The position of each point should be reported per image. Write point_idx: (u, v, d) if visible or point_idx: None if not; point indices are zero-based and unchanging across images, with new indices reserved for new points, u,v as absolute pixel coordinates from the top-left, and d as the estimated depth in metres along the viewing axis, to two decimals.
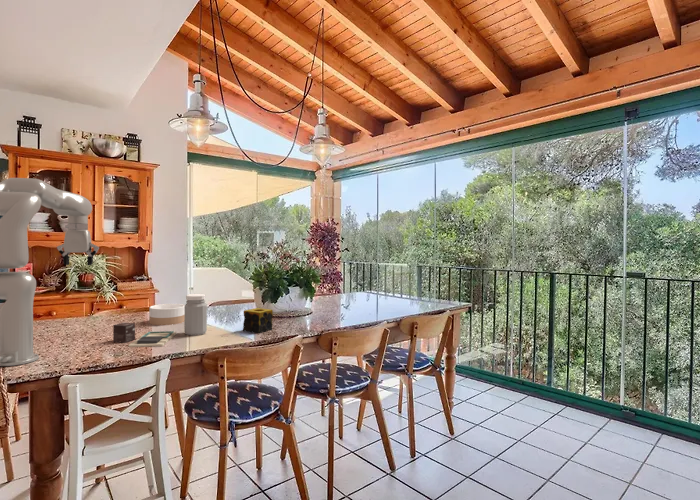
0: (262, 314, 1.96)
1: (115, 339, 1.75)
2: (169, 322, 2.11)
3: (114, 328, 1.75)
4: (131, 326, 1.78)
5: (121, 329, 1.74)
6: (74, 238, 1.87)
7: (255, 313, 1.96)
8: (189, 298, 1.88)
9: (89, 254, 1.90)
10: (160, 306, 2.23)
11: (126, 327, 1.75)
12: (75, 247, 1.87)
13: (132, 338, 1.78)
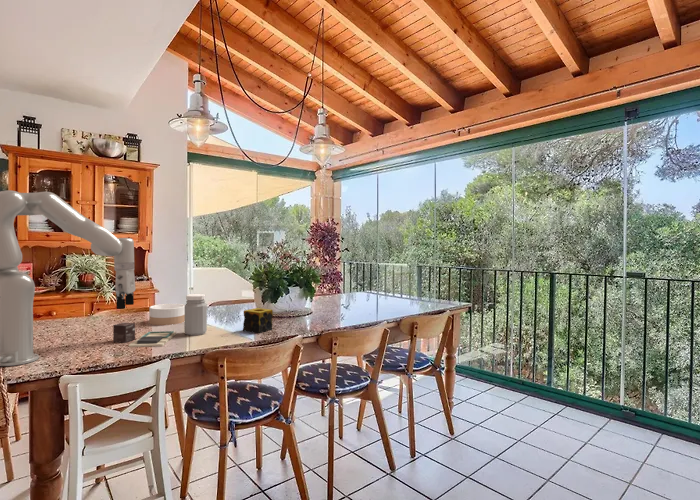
0: (262, 314, 1.96)
1: (115, 339, 1.75)
2: (169, 322, 2.11)
3: (114, 328, 1.75)
4: (131, 326, 1.78)
5: (121, 329, 1.74)
6: (131, 278, 1.77)
7: (255, 313, 1.96)
8: (189, 298, 1.88)
9: (132, 293, 1.83)
10: (160, 306, 2.23)
11: (126, 327, 1.75)
12: (132, 287, 1.78)
13: (132, 338, 1.78)
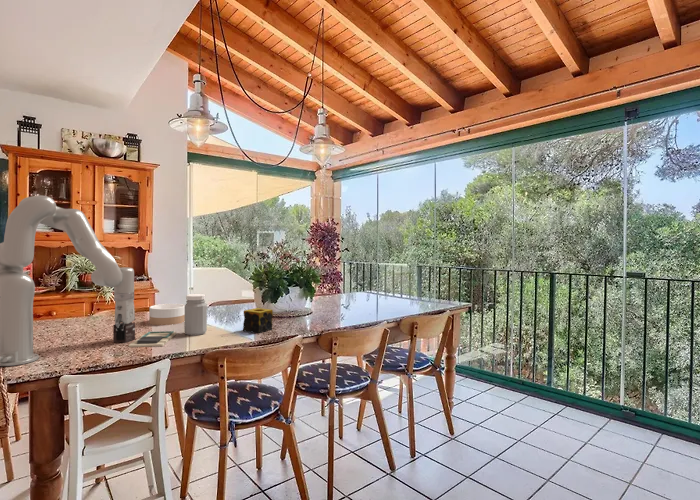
0: (262, 314, 1.96)
1: (115, 339, 1.75)
2: (169, 322, 2.11)
3: (114, 328, 1.75)
4: (131, 326, 1.78)
5: None
6: (131, 308, 1.77)
7: (255, 313, 1.96)
8: (189, 298, 1.88)
9: None
10: (160, 306, 2.23)
11: (126, 327, 1.75)
12: (131, 317, 1.78)
13: (132, 338, 1.78)
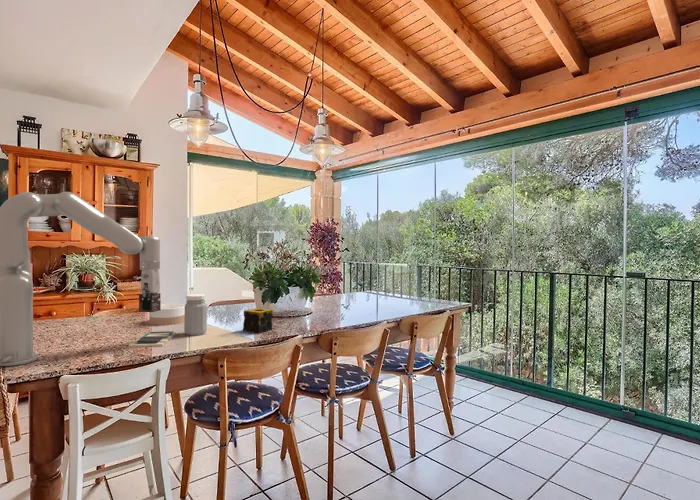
0: (262, 314, 1.96)
1: (141, 309, 1.71)
2: (169, 322, 2.11)
3: (140, 297, 1.71)
4: (157, 296, 1.74)
5: None
6: (156, 277, 1.73)
7: (255, 313, 1.96)
8: (189, 298, 1.88)
9: None
10: None
11: (152, 296, 1.71)
12: (157, 287, 1.74)
13: (158, 308, 1.74)
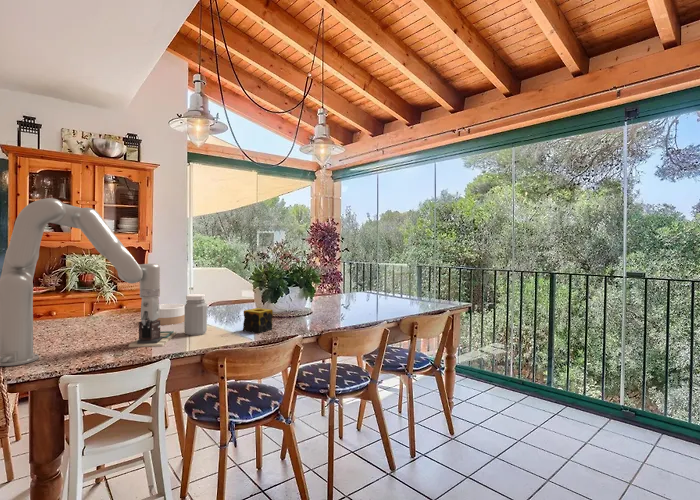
0: (262, 314, 1.96)
1: (141, 337, 1.71)
2: (169, 322, 2.11)
3: (140, 325, 1.71)
4: (157, 324, 1.74)
5: None
6: (156, 305, 1.74)
7: (255, 313, 1.96)
8: (189, 298, 1.88)
9: None
10: (160, 306, 2.23)
11: (152, 324, 1.71)
12: (156, 314, 1.74)
13: (157, 336, 1.74)
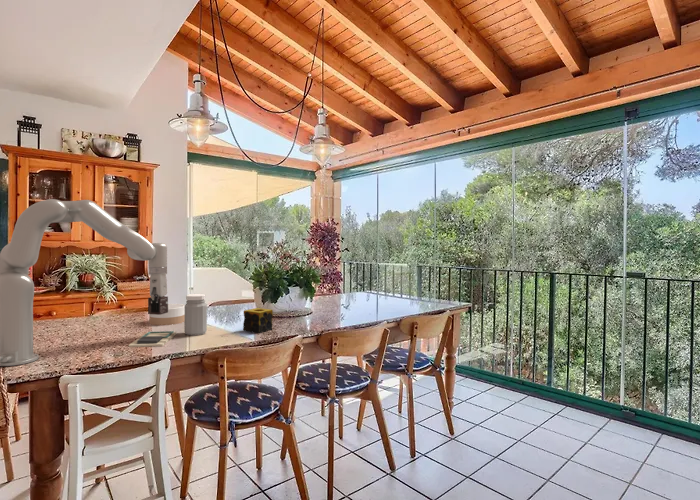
0: (262, 314, 1.96)
1: (150, 311, 1.82)
2: (169, 322, 2.11)
3: (149, 301, 1.82)
4: (165, 300, 1.85)
5: None
6: (164, 282, 1.84)
7: (255, 313, 1.96)
8: (189, 298, 1.88)
9: None
10: None
11: (160, 300, 1.82)
12: (164, 290, 1.85)
13: (165, 311, 1.85)
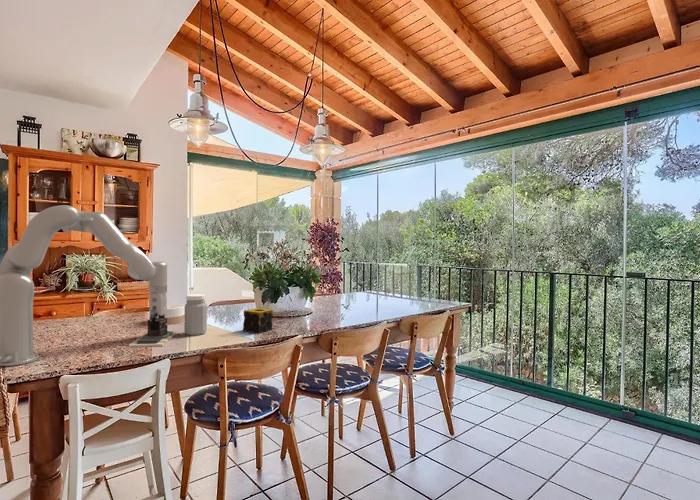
0: (262, 314, 1.96)
1: (150, 333, 1.82)
2: (169, 322, 2.11)
3: (148, 323, 1.82)
4: (164, 321, 1.85)
5: None
6: (164, 300, 1.85)
7: (255, 313, 1.96)
8: (189, 298, 1.88)
9: (164, 314, 1.90)
10: None
11: (160, 322, 1.82)
12: (164, 309, 1.85)
13: (165, 332, 1.85)
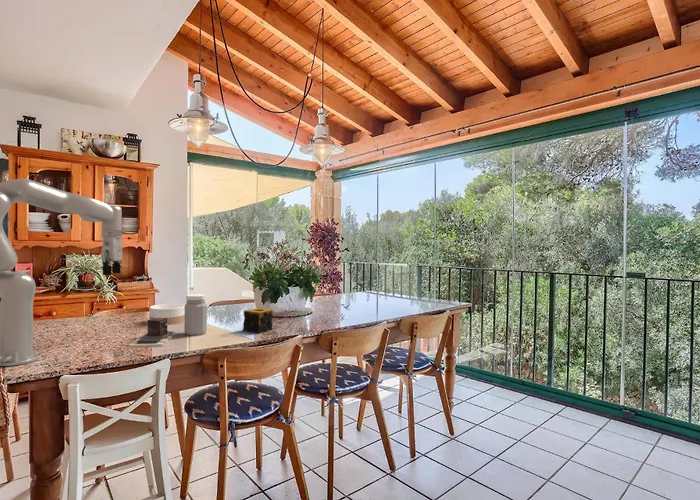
0: (262, 314, 1.96)
1: (150, 333, 1.82)
2: (169, 322, 2.11)
3: (148, 323, 1.82)
4: (164, 321, 1.85)
5: (155, 324, 1.81)
6: (118, 246, 1.79)
7: (255, 313, 1.96)
8: (189, 298, 1.88)
9: (119, 262, 1.84)
10: (160, 306, 2.23)
11: (160, 322, 1.82)
12: (118, 255, 1.79)
13: (165, 332, 1.85)
